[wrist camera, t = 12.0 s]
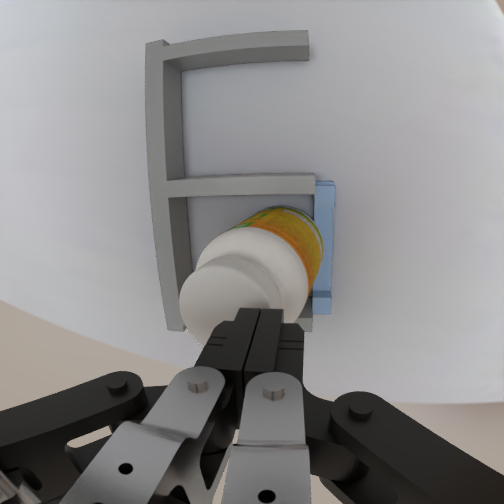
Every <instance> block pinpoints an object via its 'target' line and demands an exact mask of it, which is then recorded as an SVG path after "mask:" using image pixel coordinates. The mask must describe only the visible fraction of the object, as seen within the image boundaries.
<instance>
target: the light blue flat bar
mask: <svg viewBox="0 0 504 504" xmlns="http://www.w3.org/2000/svg"><path fill="white" fill-rule="evenodd" d="M334 207H335V185H334V182H333V181H315V194H314V222H315V224H316V225H317V227H318V228H319V230H320V232H321V235H322V238H323V242H324V256H323V260H322V264H321V266H320V269H319V271H318V274H317V276H316V279H315V281H314V284H313V286H312V312H313V314H330V313H331V299H332V297H331V274H332V250H333V209H334Z"/></svg>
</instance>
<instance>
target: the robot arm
mask: <svg viewBox="0 0 504 504" xmlns="http://www.w3.org/2000/svg"><path fill="white" fill-rule="evenodd" d="M303 354H304V330H303V329H302V328H301V326H300V325H299V324H298V323H284V309H271V308H262V310H261V308H242V307H240V308H239V310H238V312H237V315H236V317H235V319H234V321H226V320H224V321H223V322H221V323H220V324H218V325H217V326H216V327H214V329H213V331H212V333H211V335H210V338H209V339H208V341H207V343H206V345H205V346H204V348H203V350H202V352H201V354H200V356H199V358H198V360H197V362H196V364H195V366H194V367H191V368H188V369H185V370H183V371H181V372H179V373H178V374H177V375H176V376H175V377H174V378H173V380H172V381H171V382H170V384H169V385H167V386H152V387H144V386H143V383H142V380H141V378H140V377H139V376H138V375H136V374H134V373H132V372H127V371H118V372H113V373H109V374H107V375H104V376H101V377H99V378H96V379H94V380H91V381H88V382H85V383H83V384H80V385H77V386H75V387H72V388H69V389H66V390H63V391H61V392H58V393H55V394H52V395H49V396H46V397H43V398H40V399H37V400H34V401H31V402H28V403H25V404H22V405H19V406H16V407H13V408H9V409H6V410H3V411H0V504H212V502H213V497H214V494H215V492H216V489H217V487H218V484H219V482H220V479H221V477H222V475H223V472H224V469H225V467H226V464H227V462H228V459H229V463H228V468H227V474H226V479H225V485H224V490H223V496H222V501H221V504H311V480H310V474H312V475H316V476H319V478H320V481H321V482H322V484H323V485H324V486H325V487H326V488H327V489H328V490H329V491H330V492H331V493H332V494H333V495H334V496H335V497H336V498H337V499H339V500H340V501H341V502H342V503H343V504H504V475H502V474H500V473H499V472H496V471H495V470H493V469H492V468H490V467H488V466H487V465H485V464H483V463H481V462H480V461H478V460H477V459H475V458H473V457H472V456H470V455H469V454H467V453H465V452H464V451H462V450H460V449H459V448H457V447H456V446H454V445H452V444H451V443H449V442H448V441H446V440H444V439H443V438H441V437H440V436H438V435H437V434H435V433H433V432H432V431H430V430H429V429H427V428H426V427H424V426H423V425H421V424H419V423H418V422H417V421H415V420H413V419H412V418H410V417H409V416H407V415H406V414H404V413H403V412H401V411H400V410H398V409H397V408H395V407H394V406H392V405H391V404H389V403H388V402H386V401H385V400H383V399H382V398H381V397H379V396H377V395H375V394H372V393H369V392H361V391H357V392H349V393H346V394H344V395H341V396H340V397H338V398H337V399H336V400H335V401H334V402H332V401H328V400H324V399H321V398H318V397H316V396H314V395H312V394H311V393H310V392H308V391H307V390H306V388H305V387H304V385H303V380H302V378H303ZM106 426H109V428H110V430H111V432H112V434H111V435H109V436H107V437H104V438H102V439H99V440H97V441H94V442H92V443H89V444H87V445H84V446H81V447H78V448H73V447H69V446H68V445H67V443H68V442H69V441H70V440H72V439H75V438H78V437H80V436H83V435H85V434H88V433H91V432H93V431H96V430H98V429H101V428H103V427H106ZM236 429H239V435H238V441H237V444H233V443H232V440H233V437H234V434H235V430H236Z"/></svg>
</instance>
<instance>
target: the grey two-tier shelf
mask: <svg viewBox="0 0 504 504" xmlns="http://www.w3.org/2000/svg"><path fill="white" fill-rule="evenodd" d="M299 60H309V36H308V30H297V31H271V32H256V33H245V34H235V35H226V36H218V37H211V38H205V39H198V40H193V41H187V42H182V43H176V44H172V45H170V44H169V43H168V42H166V41H165V40H164V39H163V40H158V41H154V42H150V43H146V55H145V112H146V141H147V160H148V176H149V189H150V201H151V212H152V222H153V231H154V240H155V249H156V257H157V264H158V272H159V279H160V286H161V293H162V299H163V305H164V311H165V317H166V323H167V329H168V330H171V331H181V332H184V331H185V329H186V328H187V327H186V325H185V323H184V321H183V319H182V316H181V312H180V306H179V297H180V292H181V288H182V286H183V284H184V282H185V281H186V279H187V278H188V277H189V276H190V275H191V274H192V273H193V271H192V261H191V251H190V240H189V229H188V216H187V203H186V197H192V196H218V195H261V194H315V175H314V173H266V174H233V175H211V176H193V177H185V173H184V155H183V133H182V102H181V71H186V70H192V69H199V68H206V67H213V66H222V65H231V64H241V63H253V62H269V61H299ZM312 321H313V312H312V298H308V299H307V301H306V303H305V306H304V308H303V309H302V311H301V313H300V315H299V316H298V318H297V319H296V320H295V322H294V323H298V324H299V325H300V326H301V328H302V329H303V330H304V332H312Z"/></svg>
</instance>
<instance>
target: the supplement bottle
mask: <svg viewBox="0 0 504 504" xmlns="http://www.w3.org/2000/svg"><path fill="white" fill-rule="evenodd" d="M323 256H324V242H323V238H322V235H321V232H320V230H319V228H318V227H317V225H316V224H315V222H314V221H313V220H312V219H311V218H310V217H309V216H308V215H306V214H305V213H303V212H301V211H300V210H297V209H295V208H292V207H287V206H275V207H270V208H267V209H265V210H262V211H260V212H258V213H257V214H255V215H253V216H252V217H250V218H248V219H247V220H245V221H243V222H241V223H240V224H238V225H236V226H234V227H233V228H231V229H229V230H227V231H225V232H224V233H222V234H220V235H219V236H217V237H216V238H215V239H213V240H212V241H211V242H210V243H209V244H208V245H207V246H206V247H205V249H204V250H203V251H202V253H201V255H200V257H199V259H198V262H197V265H196V270H195V271H194V272H193V273H192V274H191V275H190V276H189V277H188V278H187V279H186V281H185V282H184V284H183V286H182V288H181V292H180V297H179V306H180V312H181V316H182V319H183V321H184V323H185V325H186V327H187V329H188V330H189V332H190V333H191V334H192V336H193V337H194V338H195V339H196V340H197V341H198V342H199V343H200V344H201V345H203V346H205V345H206V343H207V341H208V339H209V338H210V335H211V333H212V331H213V329H214V327H216V326H217V325H218V324H220V323H221V322H223V321H224V320H226V321H234V319H235V317H236V315H237V312H238V310H239V308H240V307H242V308H261V310H262V308H271V309H284V323H294V322H295V320H296V319H297V318H298V316H299V315H300V313H301V311H302V309H303V308H304V306H305V303H306V301H307V299H308V296H309V293H310V291H311V289H312V286H313V284H314V281H315V279H316V276H317V274H318V271H319V269H320V266H321V264H322V260H323Z"/></svg>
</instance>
